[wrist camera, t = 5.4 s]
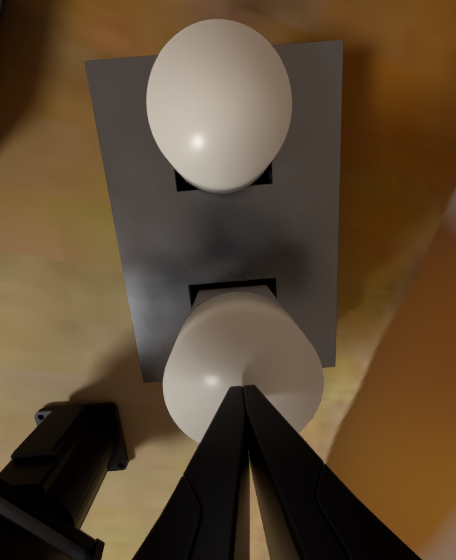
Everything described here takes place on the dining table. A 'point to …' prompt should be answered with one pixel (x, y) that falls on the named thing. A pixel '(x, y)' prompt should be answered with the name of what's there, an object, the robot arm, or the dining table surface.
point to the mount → (225, 207)
